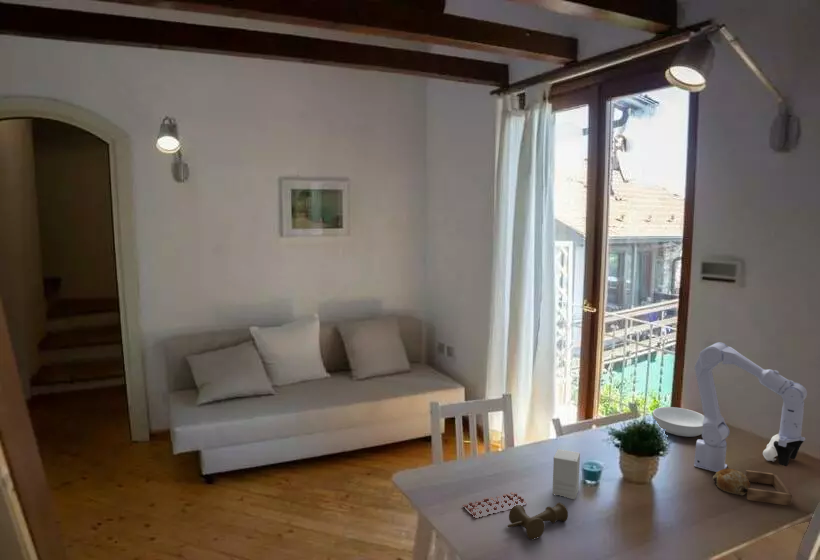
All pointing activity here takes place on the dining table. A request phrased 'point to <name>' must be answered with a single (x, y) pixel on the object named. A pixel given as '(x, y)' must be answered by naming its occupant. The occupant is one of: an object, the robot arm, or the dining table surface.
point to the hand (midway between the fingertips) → (787, 461)
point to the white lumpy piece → (771, 449)
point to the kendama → (536, 519)
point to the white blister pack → (493, 503)
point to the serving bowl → (679, 421)
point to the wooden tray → (764, 495)
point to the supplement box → (566, 473)
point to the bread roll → (732, 481)
